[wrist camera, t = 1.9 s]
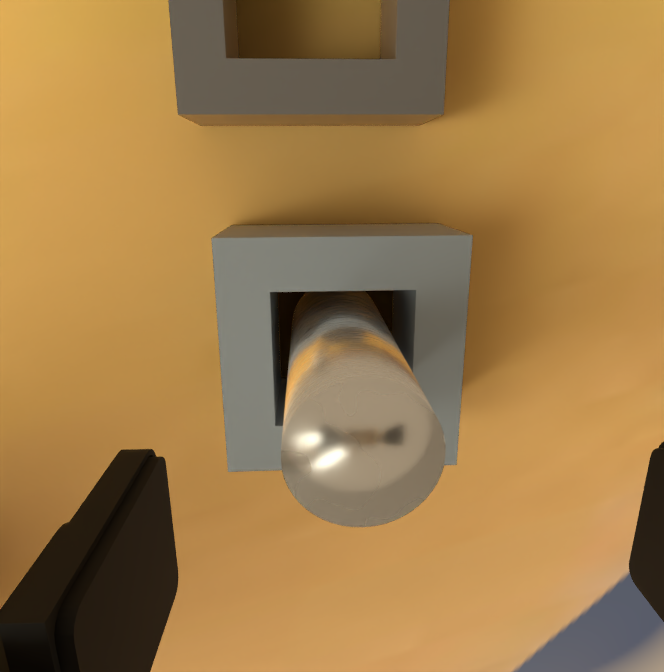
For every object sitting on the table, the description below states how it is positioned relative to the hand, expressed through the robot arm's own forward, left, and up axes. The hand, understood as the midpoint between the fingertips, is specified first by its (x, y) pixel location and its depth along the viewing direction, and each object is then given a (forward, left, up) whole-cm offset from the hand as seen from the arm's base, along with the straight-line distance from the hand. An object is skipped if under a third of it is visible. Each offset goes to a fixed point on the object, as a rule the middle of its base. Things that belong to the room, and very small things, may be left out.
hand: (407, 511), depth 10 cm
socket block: (0, +1, -15) cm, 15 cm away
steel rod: (0, +1, -15) cm, 15 cm away
